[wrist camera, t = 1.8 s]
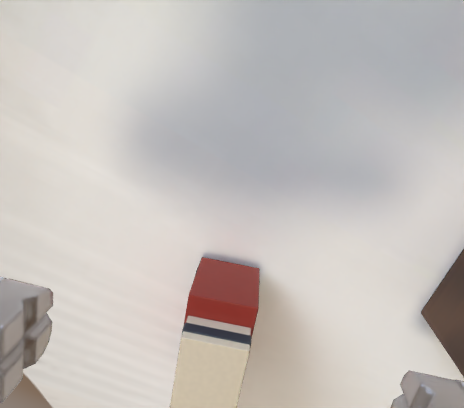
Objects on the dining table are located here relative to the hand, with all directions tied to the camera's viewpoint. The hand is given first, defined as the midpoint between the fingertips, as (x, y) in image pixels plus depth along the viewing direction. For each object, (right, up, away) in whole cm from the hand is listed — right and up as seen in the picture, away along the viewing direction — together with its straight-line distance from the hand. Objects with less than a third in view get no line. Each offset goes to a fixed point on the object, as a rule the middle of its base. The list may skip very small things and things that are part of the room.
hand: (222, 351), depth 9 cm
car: (-1, -7, +27) cm, 28 cm away
